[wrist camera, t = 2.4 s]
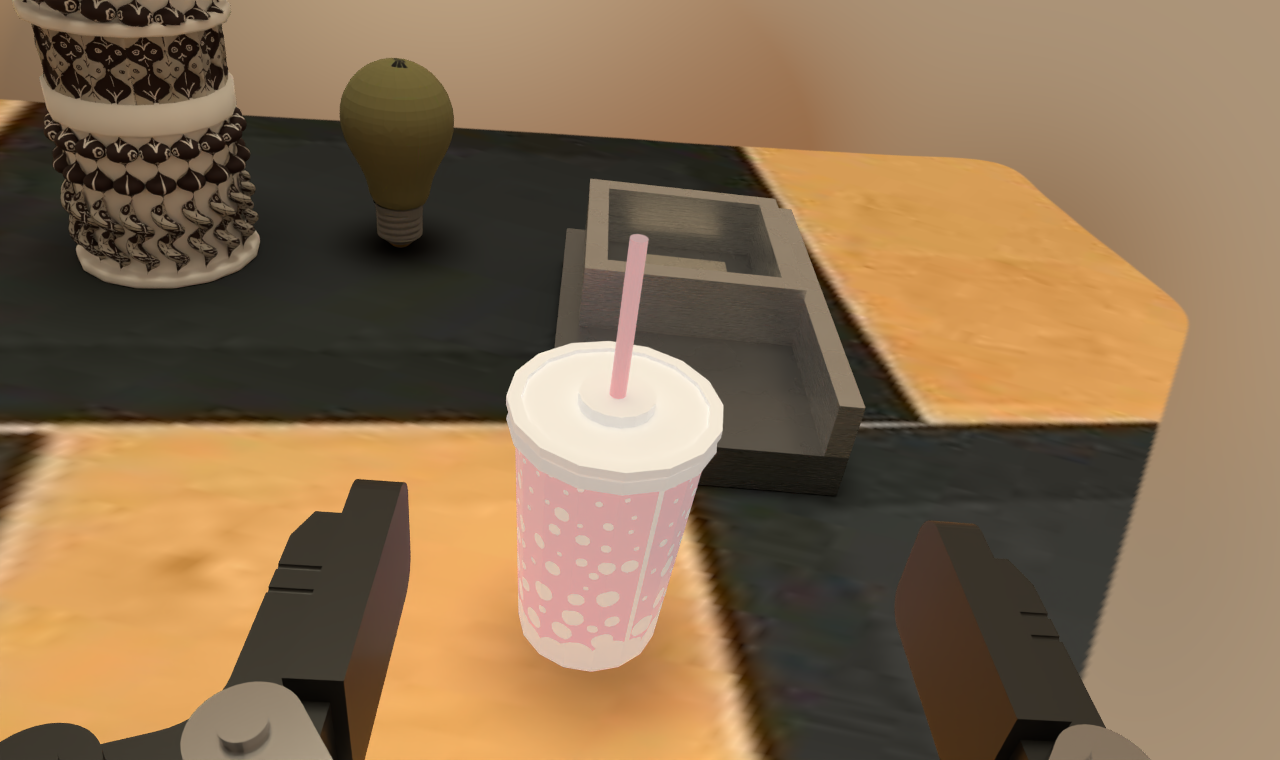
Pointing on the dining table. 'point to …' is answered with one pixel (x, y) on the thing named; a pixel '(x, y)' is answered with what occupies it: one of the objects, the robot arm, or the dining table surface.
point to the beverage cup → (604, 485)
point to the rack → (724, 324)
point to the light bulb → (397, 140)
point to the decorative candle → (146, 138)
